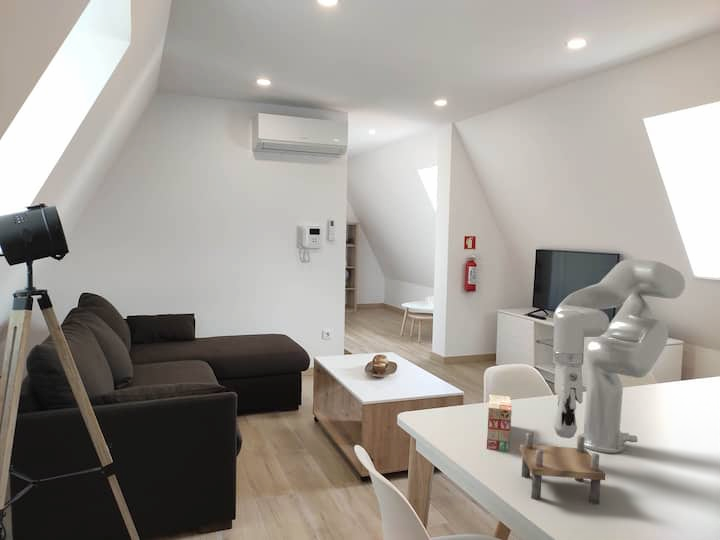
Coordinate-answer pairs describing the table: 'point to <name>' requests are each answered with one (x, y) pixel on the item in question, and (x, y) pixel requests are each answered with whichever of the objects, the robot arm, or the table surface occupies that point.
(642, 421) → the table surface
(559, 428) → the salt shaker
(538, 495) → the shelf
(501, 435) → the stack of blocks
